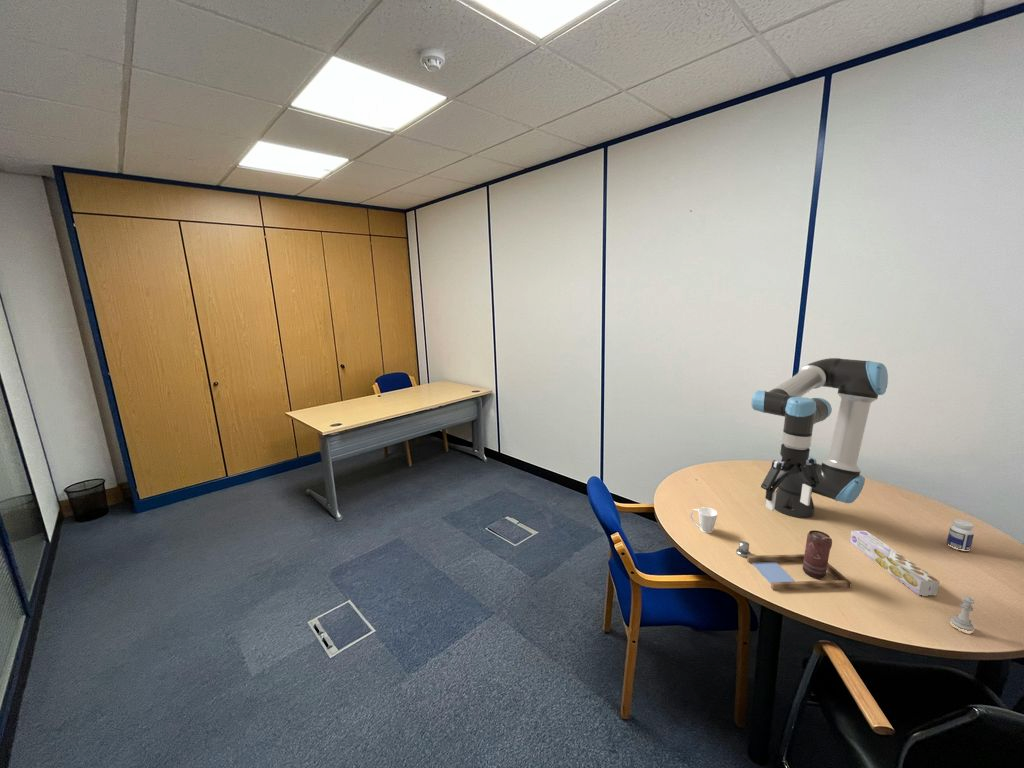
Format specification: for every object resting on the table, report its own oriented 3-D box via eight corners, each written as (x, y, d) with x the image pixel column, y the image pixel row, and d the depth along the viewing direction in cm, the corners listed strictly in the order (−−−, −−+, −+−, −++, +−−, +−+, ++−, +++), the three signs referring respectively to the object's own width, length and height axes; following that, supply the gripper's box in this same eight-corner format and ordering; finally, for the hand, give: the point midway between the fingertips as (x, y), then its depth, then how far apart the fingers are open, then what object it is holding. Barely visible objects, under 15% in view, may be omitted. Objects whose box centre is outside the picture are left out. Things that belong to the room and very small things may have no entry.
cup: (711, 537, 152) (713, 518, 151) (685, 526, 160) (687, 508, 158) (719, 530, 157) (721, 511, 155) (694, 520, 164) (695, 502, 163)
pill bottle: (962, 544, 145) (968, 519, 142) (974, 554, 139) (980, 528, 137) (942, 541, 146) (947, 516, 144) (952, 551, 141) (958, 525, 139)
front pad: (775, 562, 138) (775, 561, 137) (798, 586, 127) (798, 584, 127) (752, 563, 138) (752, 562, 137) (773, 586, 127) (773, 585, 127)
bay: (816, 559, 139) (817, 553, 138) (850, 587, 125) (851, 582, 125) (747, 561, 139) (747, 555, 138) (772, 590, 125) (773, 584, 125)
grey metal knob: (745, 549, 145) (747, 539, 144) (753, 557, 141) (754, 547, 140) (733, 549, 145) (734, 540, 144) (740, 557, 141) (741, 547, 140)
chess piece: (974, 637, 107) (983, 605, 104) (950, 628, 110) (958, 597, 107) (972, 627, 110) (980, 595, 108) (948, 619, 113) (956, 588, 111)
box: (848, 543, 148) (851, 529, 146) (863, 543, 147) (866, 529, 146) (919, 598, 121) (922, 581, 120) (937, 598, 121) (941, 581, 119)
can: (827, 582, 128) (834, 542, 125) (802, 575, 131) (808, 536, 128) (825, 571, 133) (831, 533, 130) (801, 564, 136) (807, 527, 133)
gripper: (817, 438, 135) (808, 496, 140) (752, 445, 130) (746, 505, 135) (839, 446, 128) (829, 507, 132) (771, 453, 123) (764, 516, 128)
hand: (787, 506), depth 134 cm, fingers open, 13 cm apart
